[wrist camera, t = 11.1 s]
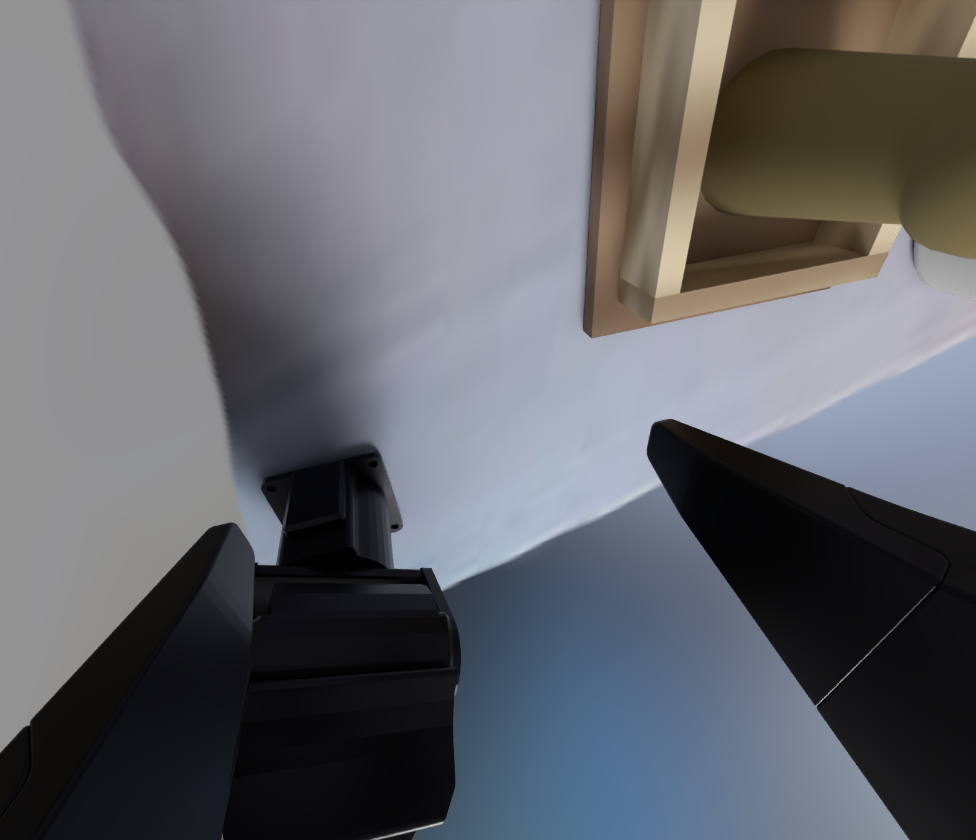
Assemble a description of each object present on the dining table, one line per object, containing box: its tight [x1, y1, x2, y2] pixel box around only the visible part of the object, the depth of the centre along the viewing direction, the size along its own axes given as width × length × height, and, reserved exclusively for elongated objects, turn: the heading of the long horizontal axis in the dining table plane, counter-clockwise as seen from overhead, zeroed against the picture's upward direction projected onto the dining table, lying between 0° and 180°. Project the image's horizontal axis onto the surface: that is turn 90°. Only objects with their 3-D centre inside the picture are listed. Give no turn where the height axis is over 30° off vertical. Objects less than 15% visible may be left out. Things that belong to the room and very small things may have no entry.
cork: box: [700, 48, 976, 259], centre depth 14 cm, size 6×6×11 cm
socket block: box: [583, 0, 976, 338], centre depth 18 cm, size 16×15×4 cm
